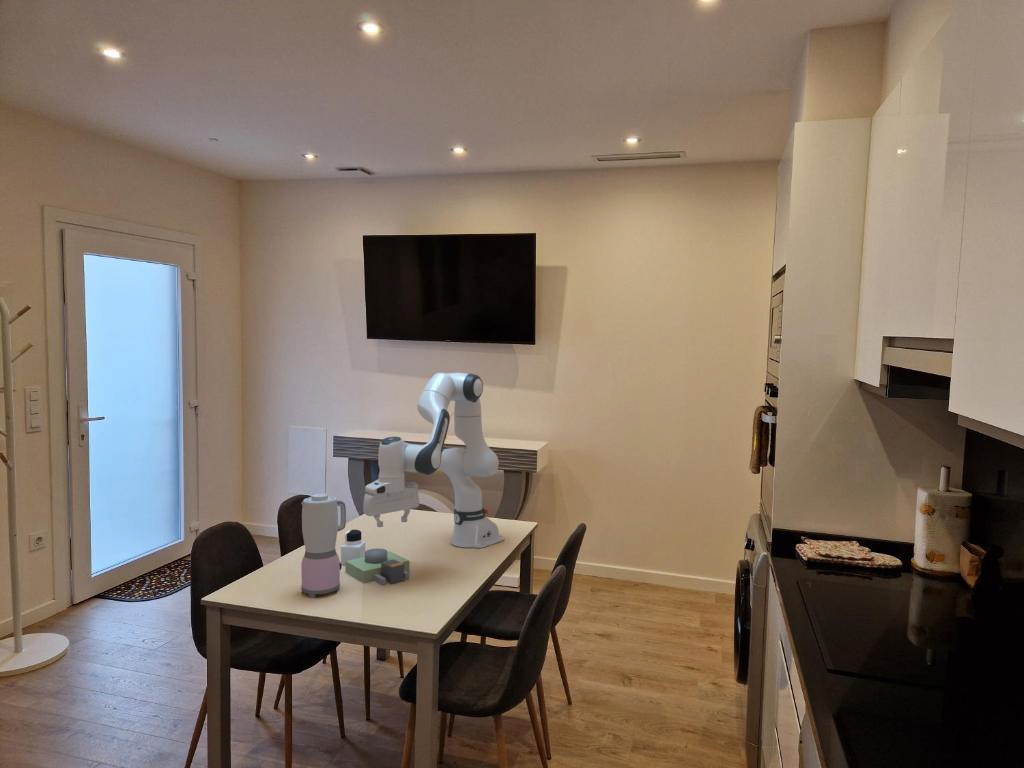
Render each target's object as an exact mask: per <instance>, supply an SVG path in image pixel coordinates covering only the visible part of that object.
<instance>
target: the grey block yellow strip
mask: <svg viewBox="0 0 1024 768" xmlns="http://www.w3.org/2000/svg"><path fill="white" fill-rule="evenodd" d="M381 576H383V577H384V578H386V583H388V584H390V585H394V584H395V585H396V584H398V583H402V582H405V579H404V564H403V562H402V563H400V562H398V561H396V560H394V559H393V560H388V561H384V562H381Z"/></svg>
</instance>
